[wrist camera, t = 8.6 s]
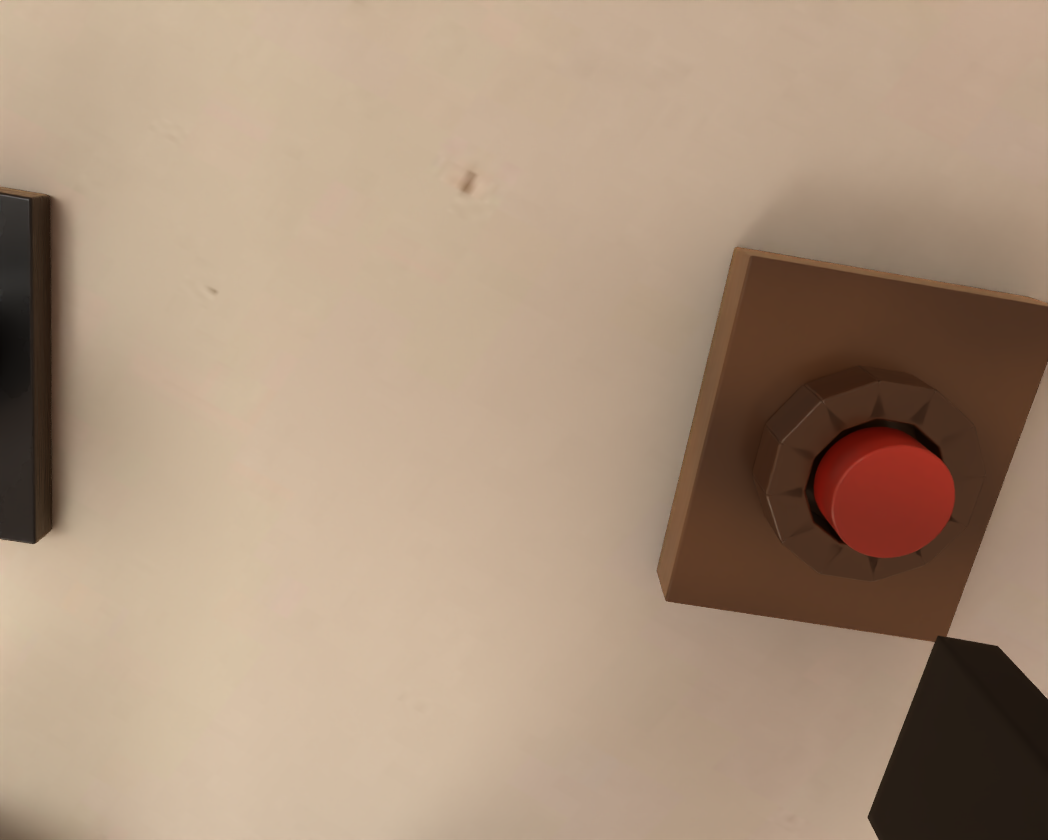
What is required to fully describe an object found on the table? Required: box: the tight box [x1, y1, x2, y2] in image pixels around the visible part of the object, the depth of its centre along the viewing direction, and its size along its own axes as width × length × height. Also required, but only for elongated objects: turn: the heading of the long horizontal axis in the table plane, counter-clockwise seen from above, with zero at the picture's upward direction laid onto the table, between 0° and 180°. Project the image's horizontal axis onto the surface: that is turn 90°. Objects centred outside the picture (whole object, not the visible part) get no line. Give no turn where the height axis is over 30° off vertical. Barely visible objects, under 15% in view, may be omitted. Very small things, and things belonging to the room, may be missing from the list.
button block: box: [657, 247, 1048, 642], centre depth 28 cm, size 12×10×4 cm
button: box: [814, 427, 955, 558], centre depth 26 cm, size 4×4×2 cm
